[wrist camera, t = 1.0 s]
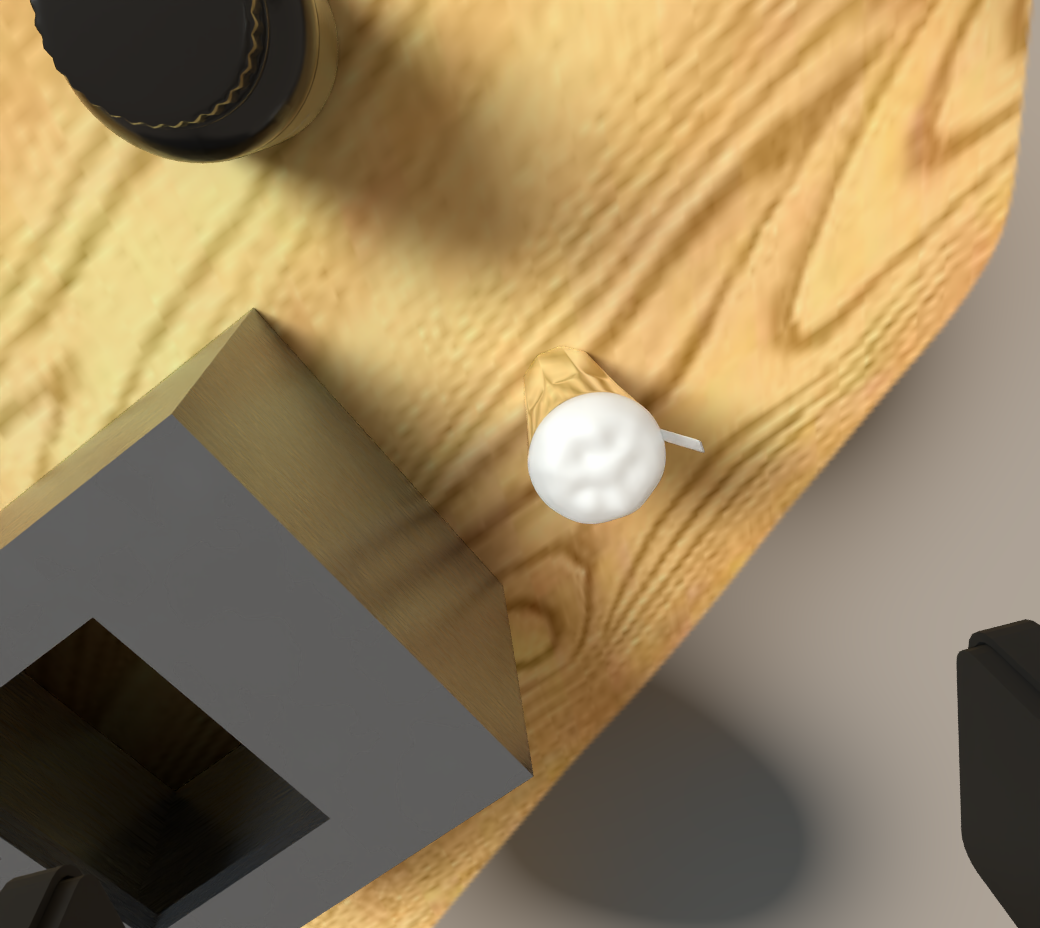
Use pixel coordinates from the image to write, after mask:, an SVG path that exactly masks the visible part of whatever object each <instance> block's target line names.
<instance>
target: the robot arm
mask: <svg viewBox="0 0 1040 928" xmlns="http://www.w3.org/2000/svg"><path fill="white" fill-rule="evenodd" d="M957 695H958V728H959V729H958V730H959V763H960V796H961V797H960V798H961V831H962V840H963V843H964V847H965V849H966V852H967V854H968V857H969V858H970V861H971V863H972V865H973V866H974V868H975V869H976V871H977V873H978V874H979V875H980V877H981V878H982V879H983V881H984V882H985V883H986V885H987V886H988V887H989V889H990V890H991V892H992V893H993V894H994V896H995V897H996V898H997V900H998V901H999V903H1000V904H1001V905H1002V907H1003V908H1004V909H1005V911H1006V912H1007V913H1008V915H1009V916H1010V918H1011V919H1012V920H1013V921H1014V923H1015V924H1016V926H1017V927H1018V928H1040V625H1039V624H1037V623H1036V622H1034V621H1031V620H1026V619H1025V620H1022V621H1017V622H1014V623H1010V624H1006V625H1002V626H998V627H994V628H990V629H986V630H982V631H978V632H976V633H974V634H972V636H971V638H970V639H969V647H968V649H966V650H962V651H960V652H959V654H958V655H957ZM0 928H126V927H125V926H124V924H123V922H122V920H121V919H120V917H119V915H118V913H117V912H116V910H115V908H114V906H113V904H112V903H111V901H110V899H109V897H108V896H107V894H106V892H105V890H104V889H103V887H102V885H101V883H100V882H99V880H98V879H97V878H96V877H95V876H94V875H92V874H86V875H83V874H82V873H81V871H80V870H79V869H78V868H77V867H75V866H73V865H71V864H70V865H62V866H58V867H54V868H51V869H47V870H43V871H39V872H35V873H31V874H27V875H23V876H19V877H15V878H13V879H12V880H10V881H9V882H7V883H6V884H5V886H4V887H3V889H2V890H1V891H0Z"/></svg>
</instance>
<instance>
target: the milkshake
mask: <svg viewBox="0 0 1040 928" xmlns="http://www.w3.org/2000/svg"><path fill="white" fill-rule="evenodd" d="M524 395H525V408H526V417H527V425H528V429H527V446H528V470H529V475H530V478H531V481H532V484H533V486H534V488H535V490H536V492H537V493H538V495H539V496H540V498H541V499H542V500H543V501H544V502H545V503H546V504H547V505H548V506H549V507H550V508H551V509H553V510H554V511H556V512H557V513H559V514H561V515H562V516H564V517H566V518H568V519H570V520H573V521H576V522H580V523H585V524H598V523H604V522H608V521H611V520H614V519H617V518H621V517H624V516H627V515H629V514H631V513H633V512H635V511H636V510H637V509H639V508H640V507H641V506H642V505H643V504H644V503H645V501H646V500H647V499H648V497H649V496H650V495H651V493H652V492H653V490H654V489H655V488H656V486H657V485H658V483H659V481H660V480H661V477H662V475H663V472H664V469H665V462H666V450H665V443H664V441H666V442H669V443H672V444H676V445H679V446H682V447H685V448H688V449H692V450H695V451H698V452H701V453H704V448H703V445H702V442H701V441H700V440H698V439H695V438H691V437H688V436H684V435H681V434H678V433H674V432H671V431H668V430H664V429H661V428H659V426H658V424H657V422H656V420H655V419H654V417H653V416H652V415H651V414H650V412H649V411H648V410H647V409H646V408H644V407H643V406H642V405H641V404H640V403H638V402H637V401H636V400H635V399H634V398H633V397H631V396H630V395H629V394H628V393H627V392H626V391H625V390H623V389H622V388H621V387H620V386H619V385H618V384H617V383H615V382H614V381H613V380H612V379H611V378H610V377H609V376H608V375H607V374H606V373H605V372H604V371H603V370H602V369H601V367H600V366H599V365H598V364H597V363H596V362H595V361H594V360H593V359H592V358H591V357H590V356H589V355H588V354H587V353H586V352H585V351H580V350H576V349H572V348H568V347H564V346H559V347H556V348H554V349H552V350H549V351H546V352H544V353H541V354H539V355H537V356H536V358H535V359H534V361H533V362H532V364H531V365H530V367H529V368H528V370H527V371H526V373H525V374H524Z"/></svg>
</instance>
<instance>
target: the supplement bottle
mask: <svg viewBox="0 0 1040 928" xmlns="http://www.w3.org/2000/svg"><path fill="white" fill-rule="evenodd" d="M30 3H31V5H32V8H33V10H34V12H35V26H36V28H37V30H38V31H39V33H40V34H41V35H42V39H43V47H44V49H45V50H46V51H47V53H48V54H49V55H50V56H51V57H52V58H53V61H54V64H55V67H56V69H57V70H58V71H59V72H60V73H62V74H63V75H64V76H65V78H66V80H67V82H68V83H69V85H70V86H71V88H72V89H73V91H74V92H75V94H76V95H77V96H78V98H79V99H80V100H81V102H82V103H83V104H84V105H85V106H86V107H87V109H88V110H89V111H90V112H91V113H92V114H93V115H94V116H95V117H96V118H97V119H98V120H99V121H100V122H101V123H103V124H104V125H105V126H106V127H107V128H108V129H110V130H111V131H112V132H114V133H115V134H116V135H118V136H119V137H121V138H122V139H124V140H125V141H127V142H128V143H130V144H132V145H134V146H136V147H138V148H140V149H142V150H144V151H146V152H149V153H151V154H154V155H157V156H160V157H163V158H166V159H171V160H175V161H181V162H189V163H214V162H223V161H228V160H233V159H236V158H240V157H243V156H246V155H249V154H252V153H255V152H257V151H260V150H263V149H266V148H268V147H271V146H274V145H276V144H279V143H281V142H284V141H286V140H287V139H289V138H291V137H293V136H295V135H296V134H297V133H299V132H300V131H302V130H303V129H304V128H305V127H306V126H308V125H309V124H310V123H311V122H312V121H313V119H314V118H315V117H316V116H317V115H318V113H319V112H320V111H321V109H322V108H323V106H324V104H325V103H326V101H327V99H328V97H329V95H330V92H331V90H332V87H333V84H334V81H335V76H336V72H337V65H338V37H337V30H336V25H335V21H334V17H333V14H332V11H331V8H330V5H329V3H328V0H30Z"/></svg>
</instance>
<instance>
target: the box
mask: <svg viewBox="0 0 1040 928" xmlns="http://www.w3.org/2000/svg"><path fill="white" fill-rule="evenodd" d="M91 618H94V619H95V620H97V621H98V622H99V623H100V624H101V625H102V626H104V627H105V628H106V629H107V630H108V631H110V632H111V633H112V634H113V635H114V636H115V637H117V638H118V639H119V640H120V641H121V642H123V643H124V644H125V645H126V646H127V647H128V648H130V649H131V650H132V651H133V652H134V653H135V654H137V655H138V656H139V657H140V658H141V659H143V660H144V661H145V662H146V663H147V664H148V665H150V666H151V667H152V668H153V669H154V670H156V671H157V672H158V673H159V674H160V675H161V676H163V677H164V678H165V679H166V680H167V681H169V682H170V683H171V684H172V685H173V686H174V687H176V688H177V689H178V690H179V691H180V692H182V693H183V694H184V695H185V696H186V697H187V698H189V699H190V700H191V701H192V702H193V703H195V704H196V705H197V706H198V707H199V708H200V709H202V710H203V711H204V712H205V713H206V714H208V715H209V716H210V717H211V718H212V719H213V720H215V721H216V722H217V723H218V724H219V725H221V726H222V727H223V728H224V729H225V730H226V731H228V732H229V733H230V734H231V735H232V736H234V737H235V738H236V739H237V740H238V741H239V742H241V743H242V745H241V746H239V747H238V748H236V749H235V750H233V751H232V752H231V753H229V754H228V755H226V756H225V757H223V758H222V759H221V760H219V761H218V762H216V763H215V764H214V765H212V766H211V767H209V768H208V769H206V770H205V771H204V772H202V773H201V774H199V775H198V776H196V777H195V778H194V779H192V780H191V781H189V782H188V783H186V784H185V785H184V786H182V787H181V788H179V789H178V790H176V791H174V790H172V789H171V788H170V787H169V786H167V785H166V784H165V783H163V782H162V781H161V780H160V779H158V778H157V777H156V776H155V775H153V774H152V773H151V772H149V771H148V770H147V769H146V768H144V767H143V766H142V765H141V764H139V763H138V762H137V761H135V760H134V759H133V758H132V757H130V756H129V755H128V754H127V753H125V752H124V751H123V750H121V749H120V748H119V747H118V746H116V745H115V744H114V743H113V742H111V741H110V740H109V739H107V738H106V737H105V736H104V735H102V734H101V733H100V732H99V731H97V730H96V729H95V728H94V727H92V726H91V725H90V724H88V723H87V722H86V721H85V720H83V719H82V718H81V717H80V716H78V715H77V714H76V713H74V712H73V711H72V710H71V709H69V708H68V707H67V706H66V705H64V704H63V703H62V702H60V701H59V700H58V699H57V698H55V697H54V696H53V695H52V694H50V693H49V692H48V691H46V690H45V689H44V688H43V687H41V686H40V685H39V684H38V683H36V682H35V681H34V680H32V679H31V678H30V677H29V676H27V675H26V674H25V673H24V672H22V671H23V670H24V669H25V668H27V667H28V666H29V665H31V664H32V663H33V662H35V661H36V660H37V659H39V658H40V657H41V656H42V655H44V654H45V653H46V652H48V651H49V650H50V649H52V648H53V647H54V646H56V645H57V644H58V643H60V642H61V641H62V640H64V639H65V638H66V637H67V636H69V635H70V634H71V633H73V632H74V631H75V630H77V629H78V628H79V627H81V626H82V625H83V624H85V623H86V622H87V621H89V620H90V619H91ZM532 777H533V770H532V764H531V757H530V751H529V745H528V739H527V733H526V726H525V720H524V714H523V708H522V701H521V695H520V689H519V683H518V677H517V670H516V664H515V658H514V652H513V645H512V639H511V633H510V627H509V621H508V614H507V608H506V602H505V596H504V589H503V585H502V584H501V583H500V582H499V581H498V580H497V579H496V577H495V576H494V575H493V574H492V573H491V572H490V571H489V570H488V569H487V567H486V566H485V565H484V564H483V563H482V562H481V561H480V560H479V559H478V557H477V556H476V555H475V554H474V553H473V552H472V551H471V550H470V549H469V547H468V546H467V545H466V544H465V543H464V542H463V541H462V540H461V538H460V537H459V536H458V535H457V534H456V533H455V532H454V531H453V530H452V528H451V527H450V526H449V525H448V524H447V523H446V522H445V521H444V520H443V518H442V517H441V516H440V515H439V514H438V513H437V512H436V511H435V510H434V508H433V507H432V506H431V505H430V504H429V503H428V502H427V501H426V499H425V498H424V497H423V496H422V495H421V494H420V493H419V492H418V491H417V489H416V488H415V487H414V486H413V485H412V484H411V483H410V482H409V481H408V479H407V478H406V477H405V476H404V475H403V474H402V473H401V472H400V471H399V469H398V468H397V467H396V466H395V465H394V464H393V463H392V462H391V460H390V459H389V458H388V457H387V456H386V455H385V454H384V453H383V452H382V450H381V449H380V448H379V447H378V446H377V445H376V444H375V443H374V442H373V440H372V439H371V438H370V437H369V436H368V435H367V434H366V433H365V432H364V430H363V429H362V428H361V427H360V426H359V425H358V424H357V423H356V422H355V420H354V419H353V418H352V417H351V416H350V415H349V414H348V413H347V411H346V410H345V409H344V408H343V407H342V406H341V405H340V404H339V403H338V401H337V400H336V399H335V398H334V397H333V396H332V395H331V394H330V393H329V391H328V390H327V389H326V388H325V387H324V386H323V385H322V384H321V383H320V381H319V380H318V379H317V378H316V377H315V376H314V375H313V374H312V372H311V371H310V370H309V369H308V368H307V367H306V366H305V365H304V364H303V362H302V361H301V360H300V359H299V358H298V357H297V356H296V355H295V354H294V352H293V351H292V350H291V349H290V348H289V347H288V346H287V345H286V344H285V342H284V341H283V340H282V339H281V338H280V337H279V336H278V335H277V333H276V332H275V331H274V330H273V329H272V328H271V327H270V326H269V325H268V323H267V322H266V321H265V320H264V319H263V318H262V317H261V316H260V315H259V313H258V312H257V311H256V310H255V309H254V308H252V309H251V310H250V311H249V312H247V313H246V314H245V315H244V316H242V317H241V318H240V319H239V320H238V321H236V322H235V323H234V324H233V325H231V326H230V327H229V328H228V329H226V330H225V331H224V332H223V333H221V334H220V335H219V336H218V337H216V338H215V339H214V340H213V341H211V342H210V343H209V344H208V345H206V346H205V347H204V348H203V349H201V350H200V351H199V352H198V353H196V354H195V355H194V356H193V357H191V358H190V359H189V360H188V361H187V362H185V363H184V364H183V365H182V366H180V367H179V368H178V369H177V370H175V371H174V372H173V373H172V374H170V375H169V376H168V377H167V378H165V379H164V380H163V381H162V382H160V383H159V384H158V385H157V386H155V387H154V388H153V389H152V390H150V391H149V392H148V393H147V394H145V395H144V396H143V397H142V398H140V399H139V400H138V401H137V402H136V403H134V404H133V405H132V406H131V407H129V408H128V409H127V410H126V411H124V412H123V413H122V414H121V415H119V416H118V417H117V418H116V419H114V420H113V421H112V422H111V423H109V424H108V425H107V426H106V427H104V428H103V429H102V430H101V431H99V432H98V433H97V434H96V435H94V436H93V437H92V438H91V439H90V440H88V441H87V442H86V443H85V444H83V445H82V446H81V447H80V448H78V449H77V450H76V451H75V452H73V453H72V454H71V455H70V456H68V457H67V458H66V459H65V460H63V461H62V462H61V463H60V464H58V465H57V466H56V467H55V468H53V469H52V470H51V471H50V472H48V473H47V474H46V475H45V476H43V477H42V478H41V479H40V480H39V481H37V482H36V483H35V484H34V485H32V486H31V487H30V488H29V489H27V490H26V491H25V492H24V493H22V494H21V495H20V496H19V497H17V498H16V499H15V500H14V501H12V502H11V503H10V504H9V505H7V506H6V507H5V508H4V509H2V510H1V511H0V891H1V890H2V889H3V887H4V886H5V884H6V883H7V882H9V881H10V880H12V879H13V878H15V877H19V876H23V875H27V874H31V873H35V872H39V871H43V870H47V869H51V868H54V867H58V866H62V865H70V864H71V865H73V866H75V867H77V868H78V869H79V870H80V871H81V873H82V874H83V875H86V874H92V875H94V876H95V877H96V878H97V879H98V880H99V882H100V883H101V885H102V887H103V889H104V890H105V892H106V894H107V896H108V897H109V899H110V901H111V903H112V904H113V906H114V908H115V910H116V912H117V913H118V915H119V917H120V919H121V920H122V922H123V924H124V926H125V927H126V928H300V927H302V926H304V925H305V924H307V923H308V922H310V921H311V920H313V919H314V918H316V917H317V916H319V915H321V914H322V913H324V912H325V911H327V910H328V909H330V908H331V907H333V906H334V905H336V904H337V903H339V902H341V901H342V900H344V899H345V898H347V897H348V896H350V895H351V894H353V893H354V892H356V891H358V890H359V889H361V888H362V887H364V886H365V885H367V884H368V883H370V882H371V881H373V880H374V879H376V878H378V877H379V876H381V875H382V874H384V873H385V872H387V871H388V870H390V869H391V868H393V867H395V866H396V865H398V864H399V863H401V862H402V861H404V860H405V859H407V858H408V857H410V856H411V855H413V854H415V853H416V852H418V851H419V850H421V849H422V848H424V847H425V846H427V845H428V844H430V843H432V842H433V841H435V840H436V839H438V838H439V837H441V836H442V835H444V834H445V833H447V832H448V831H450V830H452V829H453V828H455V827H456V826H458V825H459V824H461V823H462V822H464V821H465V820H467V819H469V818H470V817H472V816H473V815H475V814H476V813H478V812H479V811H481V810H482V809H484V808H485V807H487V806H489V805H490V804H492V803H493V802H495V801H496V800H498V799H499V798H501V797H502V796H504V795H506V794H507V793H509V792H510V791H512V790H513V789H515V788H516V787H518V786H519V785H521V784H522V783H524V782H526V781H527V780H529V779H530V778H532Z"/></svg>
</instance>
